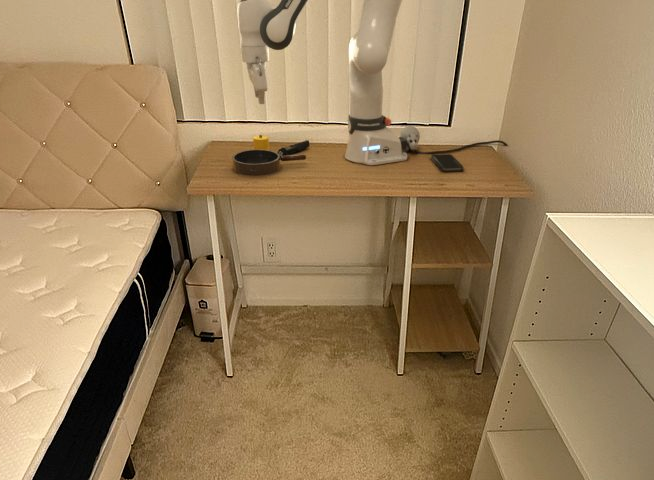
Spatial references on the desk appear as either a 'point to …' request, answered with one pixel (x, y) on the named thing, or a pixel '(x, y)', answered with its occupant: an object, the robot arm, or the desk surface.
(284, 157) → the pan handle
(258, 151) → the pan
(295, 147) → the electric trimmer
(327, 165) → the desk surface
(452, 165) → the phone
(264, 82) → the robot arm
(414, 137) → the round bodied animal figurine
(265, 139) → the yellow pepper
